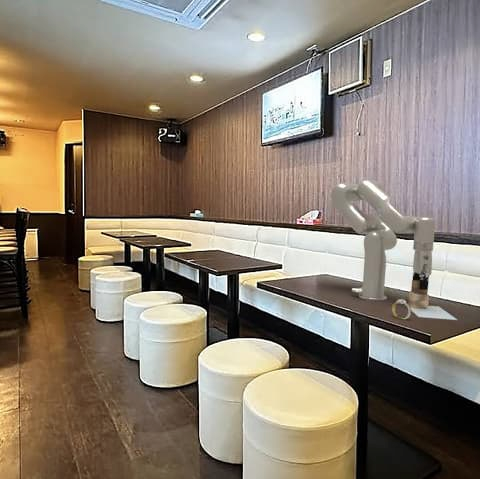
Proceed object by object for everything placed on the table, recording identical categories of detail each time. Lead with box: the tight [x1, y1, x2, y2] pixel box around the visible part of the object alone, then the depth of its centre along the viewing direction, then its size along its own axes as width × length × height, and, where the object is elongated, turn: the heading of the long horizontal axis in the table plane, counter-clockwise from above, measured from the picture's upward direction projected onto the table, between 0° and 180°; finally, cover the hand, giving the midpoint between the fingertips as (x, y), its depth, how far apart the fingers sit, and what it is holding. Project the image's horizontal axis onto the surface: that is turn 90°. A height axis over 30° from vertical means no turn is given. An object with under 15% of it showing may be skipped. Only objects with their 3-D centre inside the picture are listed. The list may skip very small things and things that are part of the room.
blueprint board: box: [410, 305, 458, 321], centre depth 160 cm, size 14×21×1 cm
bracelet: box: [391, 298, 412, 320], centre depth 148 cm, size 7×3×8 cm, turn 37°
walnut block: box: [410, 279, 429, 295], centre depth 166 cm, size 5×5×5 cm
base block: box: [408, 290, 430, 309], centre depth 166 cm, size 6×6×6 cm
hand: (419, 287), depth 166 cm, fingers open, 9 cm apart
